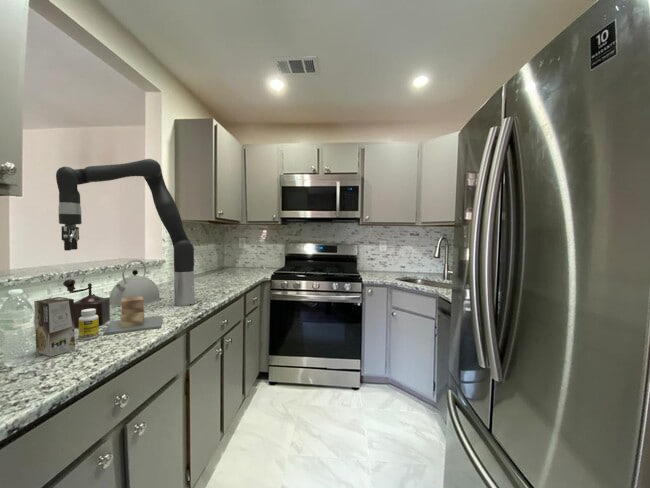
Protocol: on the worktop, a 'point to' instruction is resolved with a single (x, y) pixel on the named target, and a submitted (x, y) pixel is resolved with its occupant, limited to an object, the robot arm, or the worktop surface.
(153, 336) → the worktop surface
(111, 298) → the kettle
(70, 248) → the robot arm
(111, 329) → the slate board
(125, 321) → the tower base
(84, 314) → the supplement bottle
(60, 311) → the coffee box
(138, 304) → the tower top
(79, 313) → the hand-crank coffee grinder
